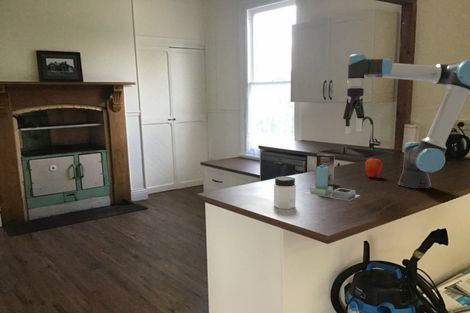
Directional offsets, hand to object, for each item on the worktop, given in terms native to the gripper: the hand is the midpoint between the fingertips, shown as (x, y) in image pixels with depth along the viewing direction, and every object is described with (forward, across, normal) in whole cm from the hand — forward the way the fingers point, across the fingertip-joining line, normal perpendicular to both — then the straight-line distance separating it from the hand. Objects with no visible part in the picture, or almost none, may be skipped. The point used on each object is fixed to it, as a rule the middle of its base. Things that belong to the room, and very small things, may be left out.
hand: (353, 132), depth 185 cm
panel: (+29, +17, -2) cm, 33 cm away
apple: (+29, -40, -3) cm, 49 cm away
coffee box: (+29, -4, -16) cm, 33 cm away
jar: (+29, +46, -10) cm, 55 cm away
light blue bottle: (+28, +17, -8) cm, 33 cm away
